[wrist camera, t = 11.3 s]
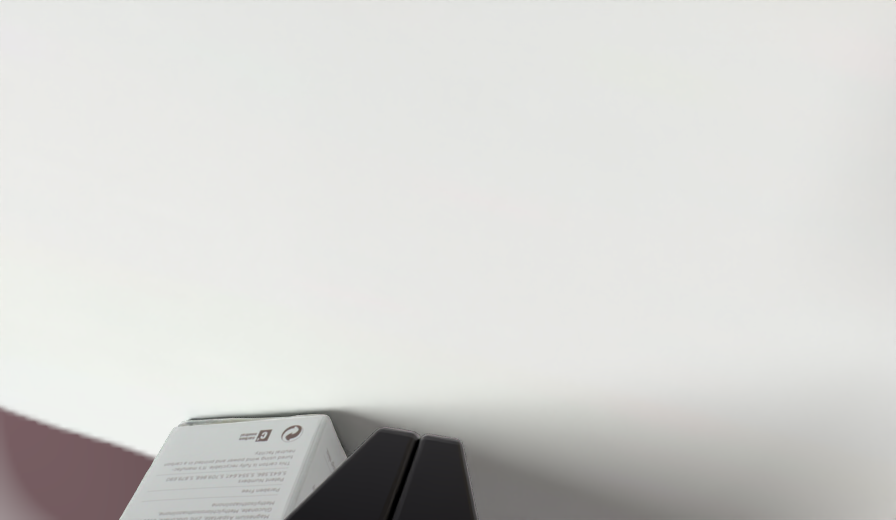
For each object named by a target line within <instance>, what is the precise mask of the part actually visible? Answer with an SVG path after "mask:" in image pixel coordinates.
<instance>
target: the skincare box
mask: <svg viewBox="0 0 896 520" xmlns="http://www.w3.org/2000/svg"><path fill="white" fill-rule="evenodd" d="M346 459H347V456H346V454H345V452H344V450H343V448H342V446H341V443H340V441H339V439H338V436H337V434H336V431H335V429H334V427H333V424H332V422H331V419H330V417H329V416H327V415H324V414H307V415H296V416H290V417H272V418H225V419H206V420H188V421H183V422H181V423H180V424H179V425H178V427H175V428H174V429H173V430H172V431H171V433H170V434H169V436H168V438H167V439H166V441H165V443H164V445H163V446H162V448H161V450H160V451H159V453H158V455H157V456H156V458H155V460H154V461H153V463H152V465H151V467H150V468H149V470H148V472H147V473H146V475H145V477H144V478H143V480H142V482H141V483H140V485H139V487H138V489H137V490H136V492H135V494H134V496H133V498H132V499H131V501H130V502H129V504H128V506H127V508H126V509H125V511H124V513H123V515H122V516H121V518H120V520H284V519H285V518H286V517H287V516H288V515H289V514H290V513H291V512H292V511H293V510H294V509H295V508H296V507H298V506H299V505H300V504H301V503H302V502H303V501H304V500H305V499H306V498H307V497H308V496H309V495H310V494H311V493H312V492H313V491H314V490H315V489H316V488H317V487H318V486H319V485H320V484H321V483H322V482H323V481H324V480H325V479H326V478H327V477H328V476H330V475H331V474H332V473H333V472H334V471H335V470H336V469H337V468H338V467H339V466H340V465H341V464H342V463H343V462H344V461H345V460H346Z"/></svg>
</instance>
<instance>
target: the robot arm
mask: <svg viewBox="0 0 896 520" xmlns="http://www.w3.org/2000/svg"><path fill="white" fill-rule="evenodd" d="M284 520H478V515H477V510H476V505H475V500H474V495H473V490H472V485H471V480H470V475H469V470H468V465H467V461H466V456H465V451H464V446H463V444H462V442H461V441H460V440H459V439H457V438H451V437H445V436H439V435H433V434H425V435H423V436H422V437H421V438H420V436H419V434H418V433H416V432H414V431H409V430H403V429H397V428H391V427H382V428H379V429H377V430H376V431H375V432H374V433H373V434H372V435H371V436H370V437H369V438H368V439H367V440H366V441H365V442H364V443H363V444H362V445H360V446H359V447H358V448H357V449H356V450H355V451H354V452H353V453H352V454H351V455H350V456H349V457H348V458H347V459H346V460H345V461H344V462H343V463H342V464H341V465H340V466H339V467H338V468H337V469H336V470H335V471H334V472H333V473H332V474H331V475H330V476H328V477H327V478H326V479H325V480H324V481H323V482H322V483H321V484H320V485H319V486H318V487H317V488H316V489H315V490H314V491H313V492H312V493H311V494H310V495H309V496H308V497H307V498H306V499H305V500H304V501H303V502H302V503H301V504H300V505H299V506H298V507H296V508H295V509H294V510H293V511H292V512H291V513H290V514H289V515H288V516H287V517H286V518H285V519H284Z"/></svg>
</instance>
